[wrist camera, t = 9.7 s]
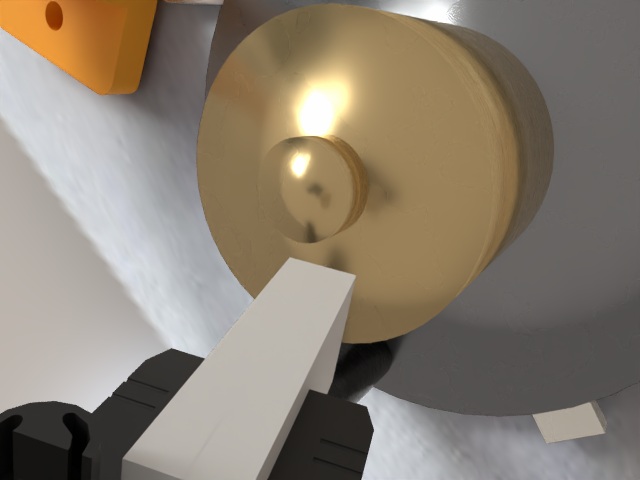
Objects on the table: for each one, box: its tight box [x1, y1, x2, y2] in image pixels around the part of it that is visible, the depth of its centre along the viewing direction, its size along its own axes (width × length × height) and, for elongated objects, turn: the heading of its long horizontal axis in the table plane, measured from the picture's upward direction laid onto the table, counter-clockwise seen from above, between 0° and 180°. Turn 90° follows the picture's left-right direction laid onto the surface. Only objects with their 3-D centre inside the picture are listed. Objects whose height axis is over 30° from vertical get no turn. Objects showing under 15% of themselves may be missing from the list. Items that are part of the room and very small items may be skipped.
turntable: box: [205, 0, 640, 443], centre depth 19 cm, size 24×24×13 cm
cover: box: [197, 3, 554, 343], centre depth 20 cm, size 10×10×9 cm
